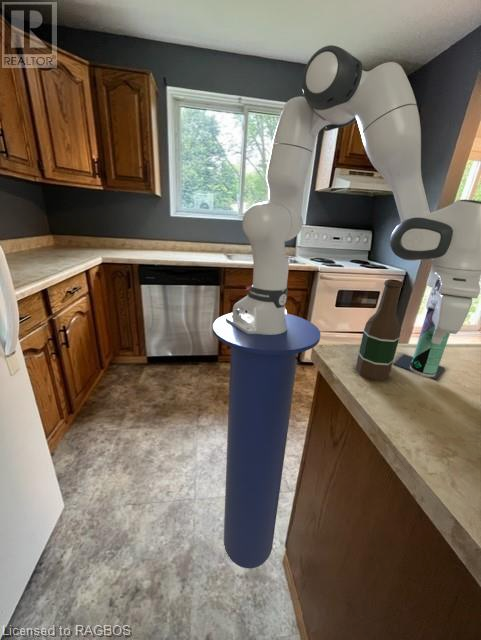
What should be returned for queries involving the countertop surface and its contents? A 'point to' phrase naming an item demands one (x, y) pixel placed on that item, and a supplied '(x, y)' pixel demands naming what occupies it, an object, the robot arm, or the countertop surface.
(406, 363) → the mat
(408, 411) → the countertop surface
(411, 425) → the countertop surface
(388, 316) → the beer bottle
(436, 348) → the spray can
